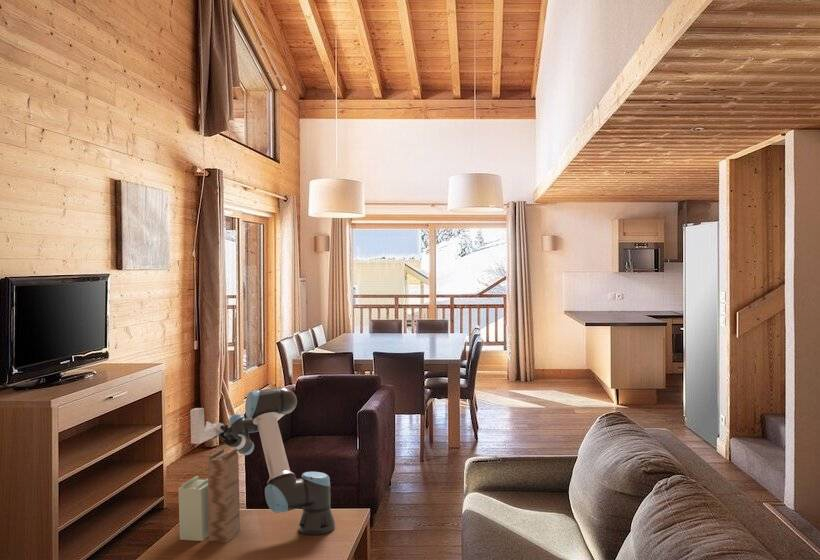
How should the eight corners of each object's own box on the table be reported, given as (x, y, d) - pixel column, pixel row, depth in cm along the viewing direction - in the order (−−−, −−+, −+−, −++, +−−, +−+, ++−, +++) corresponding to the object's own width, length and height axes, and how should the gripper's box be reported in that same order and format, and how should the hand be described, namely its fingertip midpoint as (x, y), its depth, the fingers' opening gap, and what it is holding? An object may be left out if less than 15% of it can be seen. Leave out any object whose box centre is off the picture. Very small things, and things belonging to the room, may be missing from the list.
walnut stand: (240, 531, 272) (238, 449, 272) (227, 542, 261) (225, 456, 261) (222, 530, 274) (220, 448, 274) (209, 540, 263) (207, 456, 263)
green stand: (216, 529, 275) (215, 476, 275) (202, 541, 263) (200, 485, 263) (195, 528, 277) (193, 475, 277) (179, 539, 265) (178, 484, 265)
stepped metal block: (215, 431, 290) (214, 400, 290) (223, 432, 290) (222, 400, 289) (191, 443, 271) (190, 409, 271) (199, 443, 270) (198, 410, 270)
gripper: (249, 448, 300) (227, 433, 280) (215, 446, 303) (191, 432, 283) (252, 432, 303) (231, 416, 283) (219, 431, 307) (196, 415, 287)
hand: (211, 424), depth 283 cm, fingers closed on stepped metal block, 4 cm apart
